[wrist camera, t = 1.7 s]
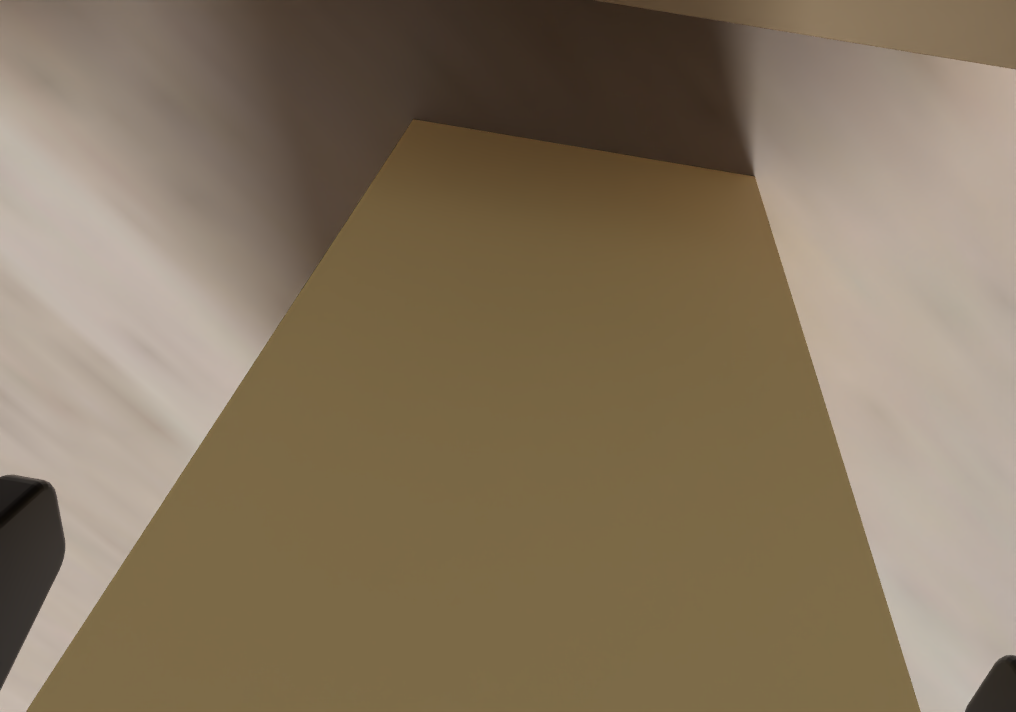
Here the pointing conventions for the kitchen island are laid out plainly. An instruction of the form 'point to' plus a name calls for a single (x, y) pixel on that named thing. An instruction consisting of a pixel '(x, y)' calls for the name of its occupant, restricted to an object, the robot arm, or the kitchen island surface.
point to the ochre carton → (513, 470)
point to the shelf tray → (874, 23)
